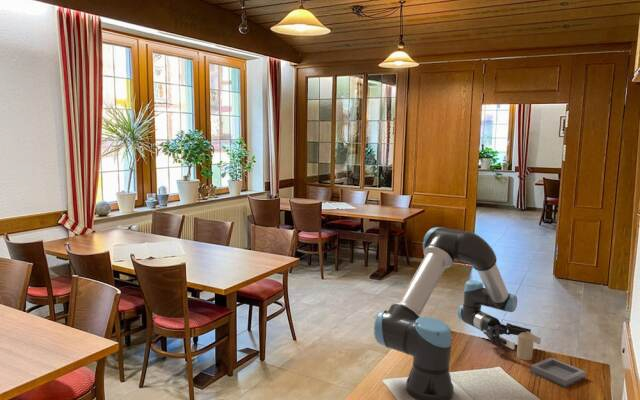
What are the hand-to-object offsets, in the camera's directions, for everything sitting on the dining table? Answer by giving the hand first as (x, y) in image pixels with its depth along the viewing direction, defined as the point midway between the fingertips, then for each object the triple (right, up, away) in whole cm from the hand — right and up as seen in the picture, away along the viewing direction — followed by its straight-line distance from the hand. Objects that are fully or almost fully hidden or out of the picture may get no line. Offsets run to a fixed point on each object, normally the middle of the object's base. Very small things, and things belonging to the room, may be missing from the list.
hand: (527, 343), depth 186 cm
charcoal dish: (+5, -8, -13) cm, 16 cm away
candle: (-1, -6, +1) cm, 6 cm away
